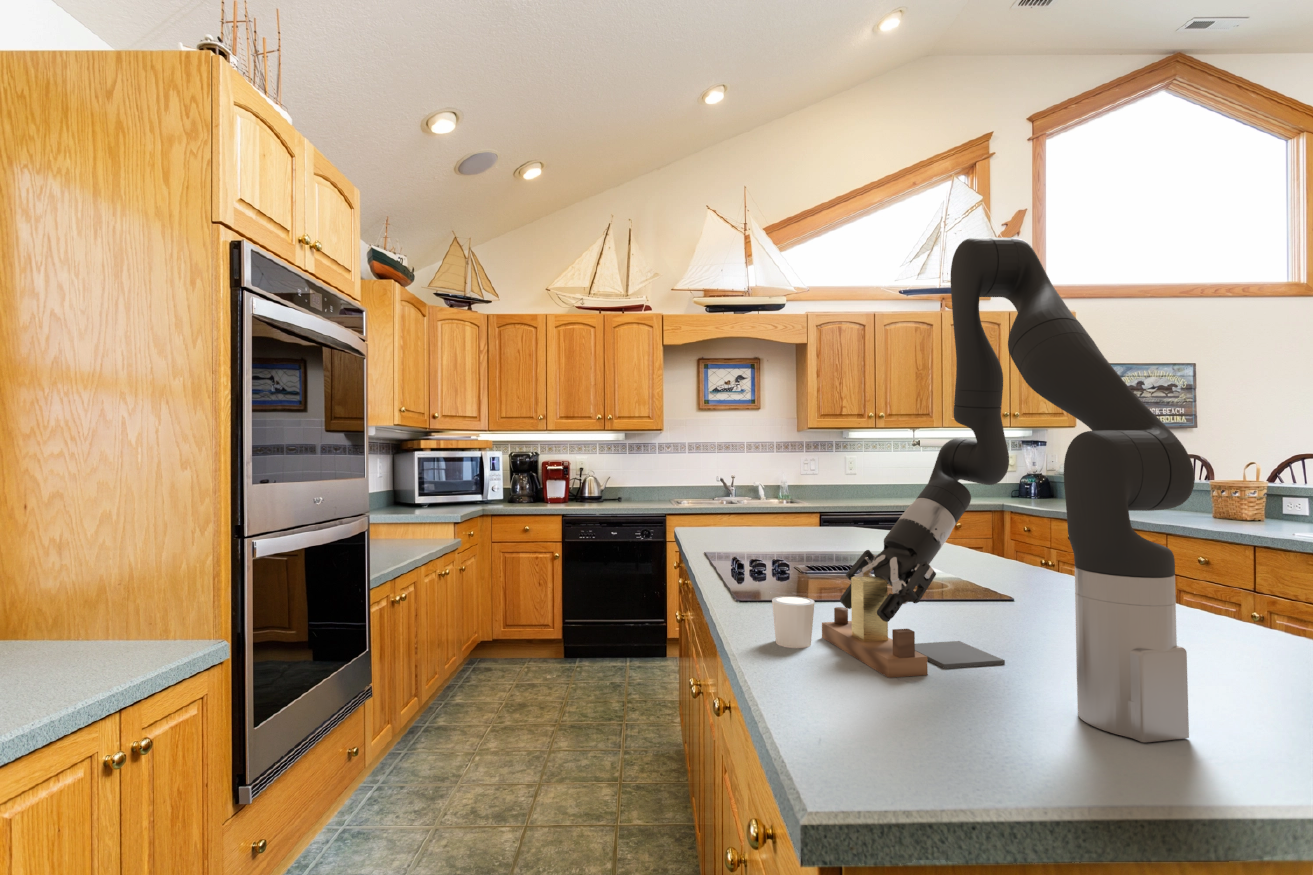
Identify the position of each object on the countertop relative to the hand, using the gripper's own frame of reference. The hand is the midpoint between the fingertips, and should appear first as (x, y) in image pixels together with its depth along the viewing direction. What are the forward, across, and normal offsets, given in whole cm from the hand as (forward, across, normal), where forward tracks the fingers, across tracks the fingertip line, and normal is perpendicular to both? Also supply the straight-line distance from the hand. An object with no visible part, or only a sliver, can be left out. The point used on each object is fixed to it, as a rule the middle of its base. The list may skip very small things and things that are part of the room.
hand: (862, 611), depth 97 cm
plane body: (+4, 0, +6) cm, 7 cm away
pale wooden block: (+2, 0, +4) cm, 4 cm away
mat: (-4, +5, +14) cm, 15 cm away
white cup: (+9, -9, 0) cm, 13 cm away
